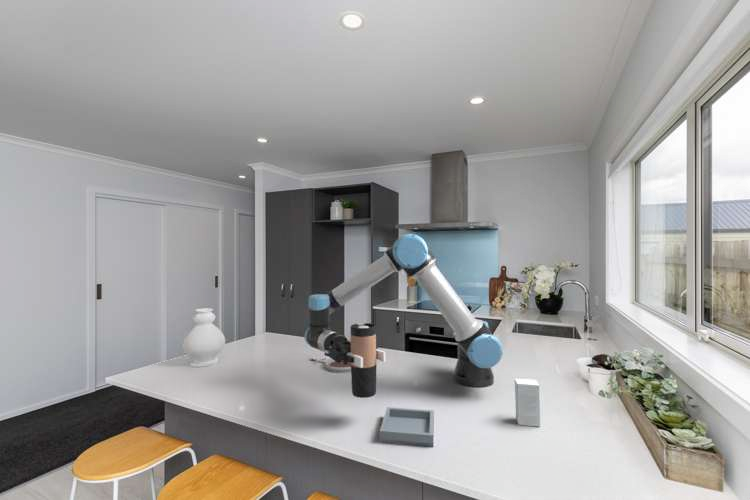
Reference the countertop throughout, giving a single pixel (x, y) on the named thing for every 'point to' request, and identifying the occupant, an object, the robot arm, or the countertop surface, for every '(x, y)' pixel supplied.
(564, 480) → the countertop surface
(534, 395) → the skincare box
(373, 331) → the travel mug
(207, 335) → the decorative vase
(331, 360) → the frying pan
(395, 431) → the tray
